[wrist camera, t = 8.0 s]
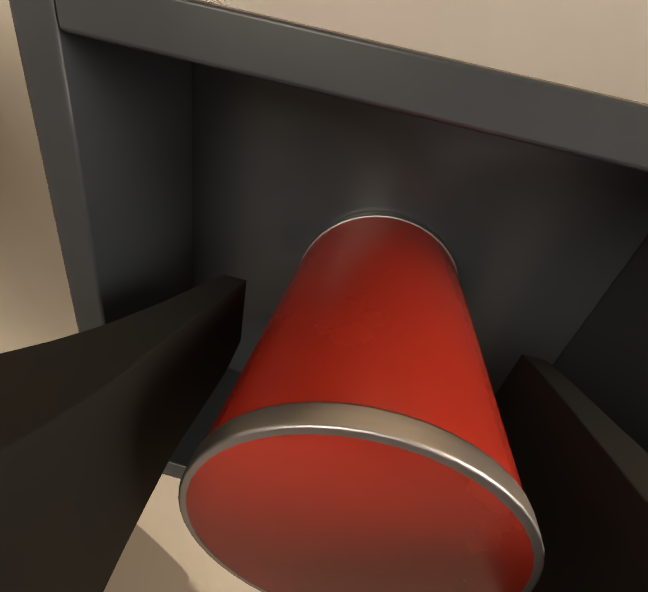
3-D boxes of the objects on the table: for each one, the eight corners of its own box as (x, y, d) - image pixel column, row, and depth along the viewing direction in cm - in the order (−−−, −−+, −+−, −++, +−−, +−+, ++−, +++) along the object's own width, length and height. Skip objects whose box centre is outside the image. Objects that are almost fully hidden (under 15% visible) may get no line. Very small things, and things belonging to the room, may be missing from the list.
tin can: (487, 235, 11) (643, 508, 4) (425, 366, 13) (452, 656, 7) (313, 191, 11) (173, 374, 4) (288, 329, 14) (180, 572, 7)
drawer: (733, 140, 9) (1044, 195, 5) (502, 447, 16) (541, 587, 11) (176, 10, 10) (-5, -48, 5) (181, 357, 16) (103, 457, 12)
